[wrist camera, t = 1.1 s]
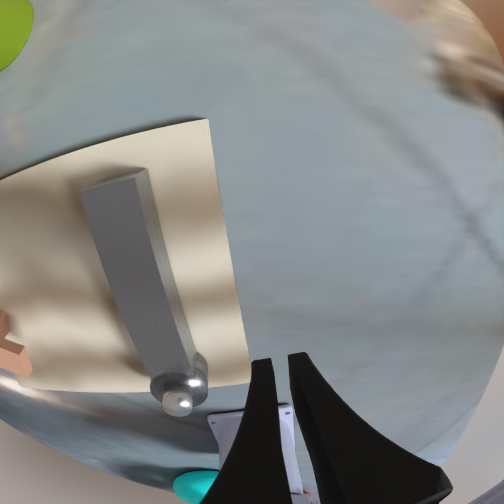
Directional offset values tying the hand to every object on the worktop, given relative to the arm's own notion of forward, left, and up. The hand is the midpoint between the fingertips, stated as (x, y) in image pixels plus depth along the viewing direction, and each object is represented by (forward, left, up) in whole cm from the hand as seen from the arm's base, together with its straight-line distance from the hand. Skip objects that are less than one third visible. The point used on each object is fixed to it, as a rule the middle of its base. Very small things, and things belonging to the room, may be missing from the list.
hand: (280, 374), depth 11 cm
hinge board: (0, +14, -9) cm, 16 cm away
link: (-1, +7, -8) cm, 11 cm away
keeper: (-2, +20, -8) cm, 22 cm away
